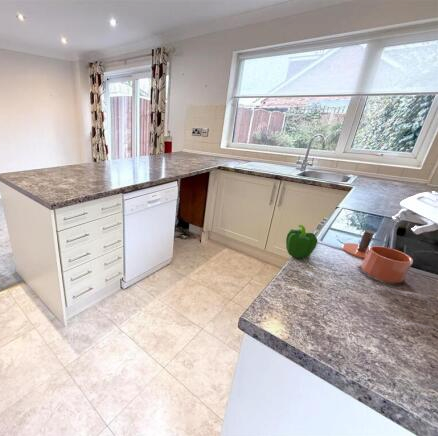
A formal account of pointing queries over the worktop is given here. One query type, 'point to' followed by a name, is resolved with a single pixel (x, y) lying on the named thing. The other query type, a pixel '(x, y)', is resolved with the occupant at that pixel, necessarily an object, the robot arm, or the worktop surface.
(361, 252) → the lid
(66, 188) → the worktop surface
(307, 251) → the bell pepper
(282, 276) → the worktop surface
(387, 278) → the pot
